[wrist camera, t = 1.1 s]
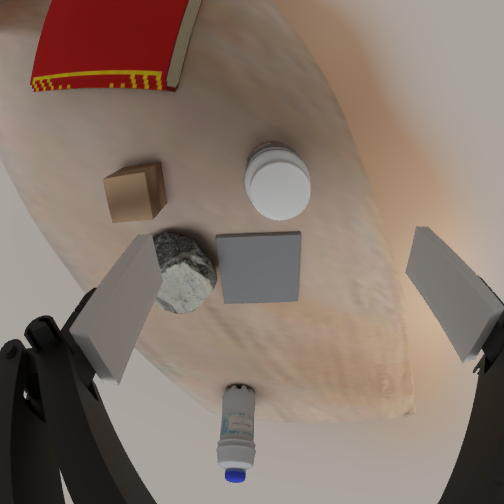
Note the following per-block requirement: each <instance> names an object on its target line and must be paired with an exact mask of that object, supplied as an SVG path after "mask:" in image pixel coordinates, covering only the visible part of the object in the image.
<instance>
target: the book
mask: <svg viewBox="0 0 504 504" xmlns="http://www.w3.org/2000/svg"><path fill="white" fill-rule="evenodd" d="M201 2H202V0H52V2H51V5H50V7H49V10H48V13H47V16H46V19H45V22H44V26H43V29H42V32H41V36H40V40H39V43H38V47H37V52H36V56H35V61H34V65H33V71H32V76H31V82H30V85H32V88H34V92H38V91H49V90H61V89H78V88H131V89H149V90H162V91H172V92H175V90H176V88H177V87H178V84H179V80H180V76H181V71H182V67H183V63H184V59H185V56H186V52H187V48H188V44H189V41H190V37H191V34H192V31H193V27H194V24H195V21H196V18H197V14H198V11H199V8H200V5H201Z"/></svg>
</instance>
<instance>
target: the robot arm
mask: <svg viewBox="0 0 504 504" xmlns="http://www.w3.org/2000/svg"><path fill="white" fill-rule="evenodd" d="M405 273H406V274H407V275H408V277H409V278H410V279H411V281H412V282H413V284H414V285H415V286H416V288H417V289H418V291H419V292H420V294H421V295H422V297H423V298H424V300H425V301H426V303H427V304H428V306H429V307H430V309H431V310H432V312H433V314H434V315H435V317H436V318H437V320H438V321H439V323H440V325H441V326H442V328H443V329H444V331H445V333H446V335H447V336H448V338H449V340H450V341H451V343H452V345H453V347H454V348H455V350H456V352H457V354H458V355H459V357H460V359H461V361H462V362H463V363H464V362H467V361H470V360H473V359H475V358H476V356H477V355H478V353H479V352H480V350H481V349H482V350H483V351H484V353H485V354H484V355H483V357H482V358H481V360H480V361H479V363H478V364H477V366H476V367H475V368H474V370H473V373H475V372H476V370H477V369H478V368H480V370H479V372H478V373H477V374H478V375H479V377H478V384H477V389H476V394H475V399H474V403H473V408H472V412H471V416H470V420H469V424H468V427H467V431H466V434H465V438H464V441H463V444H462V447H461V450H460V453H459V456H458V459H457V462H456V464H455V467H454V469H453V472H452V474H451V477H450V479H449V481H448V484H447V486H446V488H445V490H444V493H443V495H442V497H441V499H440V501H439V503H438V504H504V304H503V302H502V301H501V300H500V299H499V298H498V296H497V295H496V294H495V293H494V292H492V289H491V288H490V287H489V286H488V285H487V284H486V283H485V281H484V280H483V279H482V278H480V277H479V276H478V275H476V274H475V272H474V271H472V269H471V268H470V267H469V266H468V265H467V264H466V263H465V262H464V261H463V260H462V259H461V258H460V257H459V256H458V255H457V254H456V253H455V252H454V251H453V250H452V249H451V248H450V247H449V246H448V245H447V244H446V243H445V242H444V241H443V240H442V239H440V238H439V237H438V236H437V235H436V234H435V233H434V232H433V231H432V230H431V229H429V228H428V227H416V230H415V235H414V239H413V244H412V248H411V252H410V256H409V260H408V264H407V268H406V272H405ZM162 283H163V279H162V275H161V271H160V267H159V263H158V259H157V255H156V251H155V246H154V242H153V237H152V234H144V235H137V237H136V238H135V239H134V240H133V242H132V243H131V244H130V245H129V247H128V248H127V249H126V250H125V252H124V253H123V254H122V255H121V257H120V258H119V259H118V261H117V262H116V263H115V265H114V266H113V267H112V269H111V270H110V271H109V273H108V274H107V275H106V277H105V278H104V279H103V281H102V282H101V284H100V285H99V286H98V288H93V289H92V290H91V291H89V292H88V293H87V294H86V295H85V296H84V297H83V299H82V300H81V302H80V303H79V305H78V306H77V307H76V308H75V312H73V313H72V314H71V316H70V317H69V319H68V320H67V322H66V323H65V325H64V326H63V328H62V329H61V331H60V330H59V328H58V326H57V325H56V323H55V321H54V319H53V317H51V316H41V317H38V318H36V319H35V320H33V321H32V322H31V323H30V324H29V325H28V326H27V328H26V330H25V333H24V336H25V337H26V339H27V340H28V342H29V343H30V345H31V346H32V348H28V349H26V348H25V347H24V345H23V344H22V342H21V341H20V340H18V339H13V340H11V341H8V342H7V343H5V344H4V346H3V347H2V348H1V350H0V504H65V500H64V495H63V490H62V483H61V477H60V471H61V473H62V476H63V478H64V481H65V484H66V487H67V489H68V491H69V494H70V496H71V498H72V501H73V503H74V504H157V503H156V502H155V500H154V499H153V497H152V496H151V494H150V493H149V491H148V490H147V488H146V487H145V485H144V483H143V482H142V480H141V478H140V477H139V475H138V473H137V472H136V470H135V468H134V466H133V465H132V463H131V461H130V459H129V458H128V455H127V454H126V452H125V450H124V448H123V446H122V444H121V442H120V440H119V438H118V436H117V434H116V432H115V430H114V428H113V425H112V423H111V421H110V419H109V417H108V414H107V412H106V409H105V407H104V405H103V402H102V400H101V397H100V395H99V392H98V389H97V387H96V384H95V383H94V381H93V378H94V375H95V373H96V374H97V375H98V376H99V378H100V379H101V381H102V382H105V383H110V384H115V385H119V384H120V381H121V379H122V375H123V373H124V371H125V368H126V366H127V363H128V360H129V358H130V356H131V353H132V351H133V348H134V346H135V344H136V341H137V339H138V336H139V334H140V332H141V329H142V327H143V325H144V322H145V320H146V318H147V316H148V313H149V311H150V309H151V307H152V304H153V302H154V300H155V298H156V296H157V293H158V291H159V289H160V287H161V285H162ZM24 391H25V392H26V393H27V397H26V399H25V398H24V395H23V394H24ZM59 468H60V469H59Z"/></svg>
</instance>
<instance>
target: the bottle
mask: <svg viewBox="0 0 504 504" xmlns="http://www.w3.org/2000/svg"><path fill="white" fill-rule="evenodd" d="M254 411H255V396H254V392H253V390H252V389H250V388H248V389H247V388H246V386H244V385H242V386H241V389H237V386H236V385H233V386H232V387H231V388H227V389H226V390H225V392H224V395H223V403H222V424H221V435H220V440H219V442H218V447H217V458H218V465H219V466H221V467H222V468H224V469H226V471H225V479H226V480H227V481H229V482H234V483H239V482H243V481H244V480H245V475H246V473H245V470H247V469H250V468H252V466H253V462H254V457H255V452H256V451H255V444H254V441H253V440H254V439H253V438H254V436H253V435H254Z"/></svg>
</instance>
